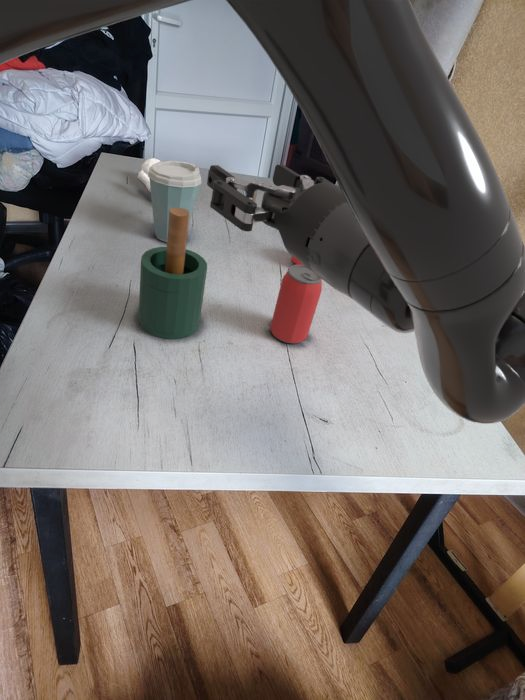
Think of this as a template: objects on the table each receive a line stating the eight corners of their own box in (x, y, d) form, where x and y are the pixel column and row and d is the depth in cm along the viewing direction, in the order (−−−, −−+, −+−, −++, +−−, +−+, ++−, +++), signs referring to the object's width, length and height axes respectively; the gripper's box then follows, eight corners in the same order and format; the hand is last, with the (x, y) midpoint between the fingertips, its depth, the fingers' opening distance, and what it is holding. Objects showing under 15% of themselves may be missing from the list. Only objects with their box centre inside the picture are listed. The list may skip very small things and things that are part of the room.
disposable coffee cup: (151, 248, 97) (155, 175, 88) (139, 225, 104) (142, 154, 95) (201, 247, 101) (210, 177, 92) (186, 225, 109) (193, 158, 100)
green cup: (147, 342, 73) (151, 280, 67) (132, 306, 80) (134, 247, 73) (207, 335, 78) (216, 276, 71) (188, 302, 84) (195, 245, 78)
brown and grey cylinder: (160, 325, 76) (168, 218, 65) (153, 309, 79) (160, 204, 68) (187, 322, 78) (199, 218, 67) (179, 307, 81) (189, 205, 70)
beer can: (286, 349, 79) (304, 287, 72) (261, 327, 82) (276, 266, 75) (314, 339, 83) (333, 279, 75) (289, 319, 86) (306, 260, 79)
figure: (125, 169, 123) (141, 207, 110) (135, 145, 120) (152, 181, 107) (165, 184, 130) (185, 222, 117) (175, 162, 127) (196, 198, 114)
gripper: (410, 197, 44) (303, 139, 54) (293, 206, 37) (191, 136, 46) (382, 268, 49) (287, 203, 58) (272, 290, 41) (183, 210, 50)
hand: (245, 173), depth 52 cm, fingers open, 8 cm apart
